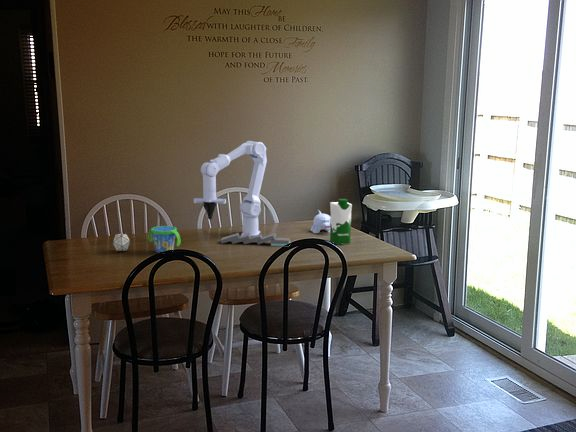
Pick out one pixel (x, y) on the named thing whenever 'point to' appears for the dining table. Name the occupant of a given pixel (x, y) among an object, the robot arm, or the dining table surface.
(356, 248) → the dining table surface
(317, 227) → the hippopotamus toy
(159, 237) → the snack cup
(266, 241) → the domino
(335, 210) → the milk carton
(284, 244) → the domino
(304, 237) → the dining table surface
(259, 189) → the robot arm
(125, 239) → the game die
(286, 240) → the domino
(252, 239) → the domino
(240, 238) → the domino
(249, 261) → the dining table surface
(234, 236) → the domino
